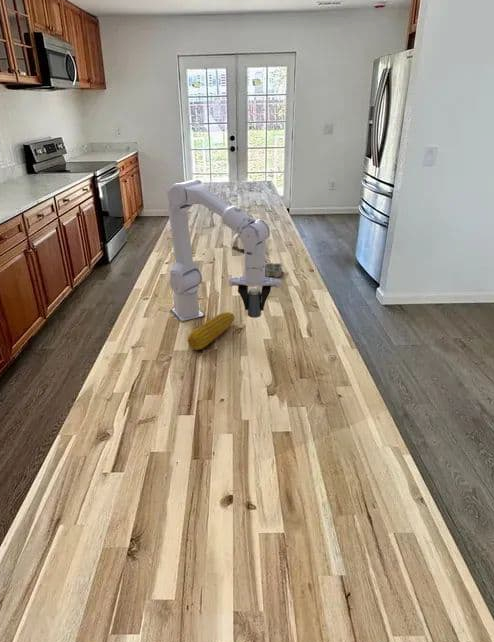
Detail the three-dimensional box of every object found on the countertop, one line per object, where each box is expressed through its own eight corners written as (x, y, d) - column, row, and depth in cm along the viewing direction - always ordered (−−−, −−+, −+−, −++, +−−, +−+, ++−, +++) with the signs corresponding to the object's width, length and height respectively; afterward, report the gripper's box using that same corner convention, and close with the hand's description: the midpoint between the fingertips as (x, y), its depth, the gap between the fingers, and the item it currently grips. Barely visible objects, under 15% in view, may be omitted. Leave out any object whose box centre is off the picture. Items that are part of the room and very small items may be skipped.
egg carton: (254, 276, 174) (254, 266, 173) (257, 269, 181) (257, 260, 179) (280, 277, 172) (280, 268, 171) (282, 270, 179) (282, 261, 177)
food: (201, 355, 123) (200, 337, 120) (185, 350, 125) (183, 332, 123) (238, 323, 139) (238, 307, 136) (223, 319, 142) (222, 303, 139)
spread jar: (255, 253, 199) (255, 228, 194) (230, 253, 199) (229, 228, 194) (254, 244, 210) (254, 221, 205) (230, 245, 210) (230, 221, 205)
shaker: (248, 311, 129) (248, 287, 126) (261, 311, 129) (262, 287, 126) (247, 317, 126) (246, 293, 123) (260, 318, 125) (261, 293, 122)
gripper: (281, 260, 123) (280, 303, 129) (230, 259, 125) (231, 301, 131) (280, 269, 117) (279, 314, 123) (227, 268, 119) (228, 312, 125)
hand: (254, 308), depth 127 cm, fingers closed on shaker, 4 cm apart
